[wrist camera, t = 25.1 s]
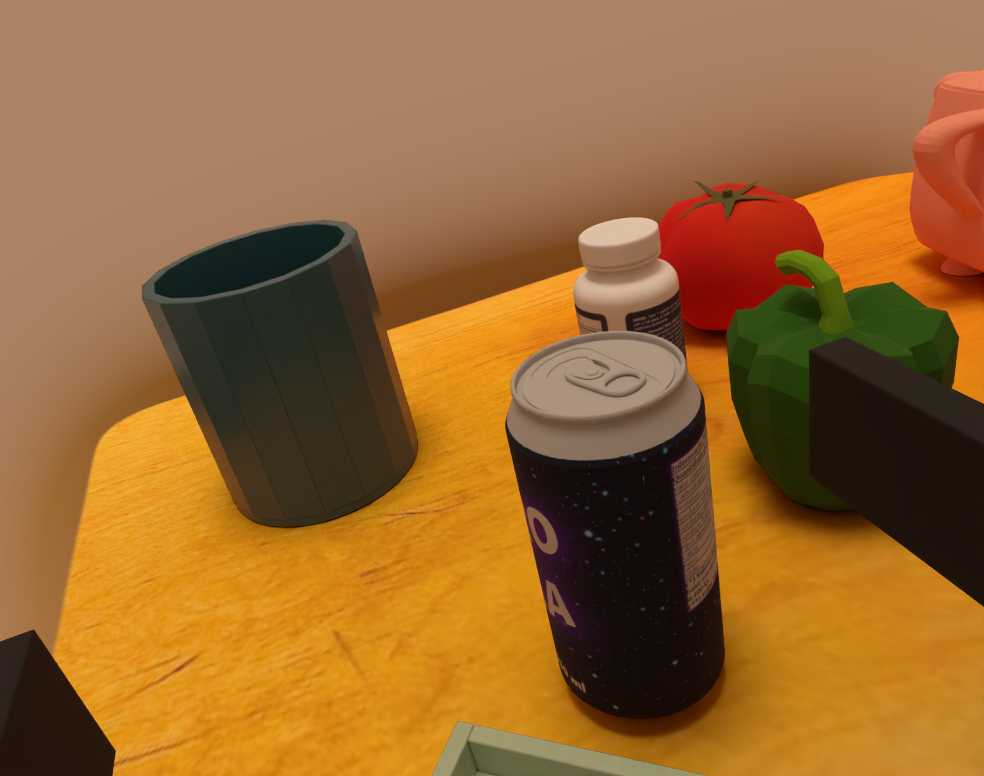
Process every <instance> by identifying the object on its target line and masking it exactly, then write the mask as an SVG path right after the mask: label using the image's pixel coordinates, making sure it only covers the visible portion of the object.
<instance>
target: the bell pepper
mask: <svg viewBox="0 0 984 776" xmlns="http://www.w3.org/2000/svg"><path fill="white" fill-rule="evenodd" d="M775 262H776V267H777V268H778V269H779V270H780V271H781V272H782V273H783V274H784V275H791V274H794V273H797V274H800V275H802V276H805V277H806V278H807V279H808V280H809V281H810V283H811V284H812V285H813V286H814V288H815V289H814V288H807V287H801V286H795V285H788V284H786V285H785V286H783V287H782V288H781V289H780V290H778V291H777V292H776V293H774V294H773V295H772V296H770V297H769V298H768V299H766V300H765V301H764V302H762V303H761V304H760V305H758V306H757V307H756V308H752V309H742V310H736V312H735V314H734V317H733V319H732V321H731V323H730V326H729V328H728V330H727V332H726V336H727V351H728V364H729V374H730V385H731V396H732V401H733V404H734V406H735V409H736V412H737V415H738V418H739V421H740V424H741V427H742V430H743V433H744V435H745V437H746V440H747V442H748V444H749V447H750V449H751V451H752V454H753V456H754V458H755V460H756V461H757V462H758V463H759V464H760V465H761V466H762V467H763V468H764V469H765V470H766V471H767V473H768V475H769V478H770V479H771V480H772V481H773V482H774V483H775V484H776V485H777V486H778V487H779V488H780V489H781V490H782V491H783V492H784V493H785V494H786V495H788V496H789V497H790V498H791V499H792V500H793V501H794V502H798V503H801V504H805V505H808V506H812V507H815V508H819V509H822V510H826V511H835V510H854V509H853V508H852V507H850V506H849V505H848V504H846V503H845V502H844V501H842V500H841V499H840V498H838V497H837V496H836V495H834V494H833V493H832V492H830V491H829V490H828V489H826V488H825V487H824V486H822V485H821V484H820V483H818V482H817V481H816V480H814V479H813V478H812V477H810V476H809V350H810V349H813V348H816V347H818V346H821V345H824V344H827V343H829V342H832V341H835V340H838V339H840V338H843V337H847V338H849V339H851V340H854V341H856V342H858V343H860V344H862V345H864V346H866V347H868V348H870V349H872V350H874V351H876V352H878V353H880V354H882V355H884V356H886V357H888V358H890V359H892V360H895V361H897V362H899V363H901V364H903V365H905V366H907V367H909V368H911V369H913V370H915V371H917V372H919V373H921V374H923V375H925V376H927V377H929V378H931V379H933V380H936V381H938V382H940V383H942V384H944V385H946V386H948V387H950V388H952V385H953V383H954V376H955V367H956V358H957V350H958V341H959V336H958V334H957V332H956V330H955V328H954V326H953V324H952V322H951V319H950V317H949V315H948V313H947V311H943V310H938V309H932V308H927V307H926V306H925V305H923V304H922V303H921V302H919V301H918V300H917V299H915V298H914V297H913V296H911V295H910V294H908V293H907V292H906V291H904V290H903V289H902V288H900V287H899V286H898V285H896V284H895V283H894V282H890V283H884V284H878V285H872V286H866V287H860V288H855V289H853V290H851V291H848V292H846V293H843V289H842V286H841V282H840V279H839V275H838V274H837V273H836V272H835V271H834V270H833V269H832V268H831V267H830V266H829V265H828V264H827V263H826V262H825V261H824V259H822V258H820V257H817V256H815V255H812V254H810V253H807V252H805V251H802V250H795V251H788V252H785V253H783V254H779V255H777V258H776V261H775Z"/></svg>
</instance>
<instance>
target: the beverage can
mask: <svg viewBox="0 0 984 776" xmlns="http://www.w3.org/2000/svg"><path fill="white" fill-rule="evenodd" d="M686 369H687V365H686V360H685V357H684V355H683V353H682V352H681V351H680V350H679V348H678V347H676V346H675V345H674V344H672V343H671V342H669V341H667V340H665V339H663V338H660V337H657V336H655V335H651V334H646V333H640V332H632V331H606V332H596V333H590V334H584V335H579V336H575V337H571V338H568V339H565V340H562V341H559V342H556V343H554V344H551V345H549V346H547V347H545V348H543V349H541V350H539V351H537V352H536V353H534V354H533V355H531V356H530V357H528V358H527V359H526V360H525V361H524V362H523V363H522V364H521V365H520V366H519V367H518V368H517V370H516V371H515V373H514V374H513V377H512V380H511V394H512V396H513V398H512V401H511V404H510V408H509V411H508V414H507V417H506V423H505V428H506V434H507V438H508V442H509V447H510V451H511V456H512V460H513V464H514V469H515V473H516V477H517V482H518V486H519V491H520V495H521V499H522V504H523V508H524V512H525V517H526V521H527V526H528V530H529V534H530V539H531V543H532V547H533V552H534V556H535V560H536V565H537V569H538V574H539V578H540V582H541V587H542V591H543V595H544V600H545V604H546V609H547V613H548V617H549V622H550V626H551V630H552V635H553V639H554V644H555V648H556V652H557V657H558V661H559V665H560V669H561V672H562V675H563V677H564V679H565V681H566V683H567V684H568V686H569V687H570V688H571V689H572V691H573V692H574V693H575V694H576V695H577V696H578V697H579V698H581V699H582V700H583V701H584V702H586V703H587V704H589V705H590V706H592V707H594V708H596V709H598V710H600V711H603V712H605V713H608V714H611V715H615V716H619V717H624V718H633V719H648V718H656V717H662V716H666V715H670V714H673V713H676V712H679V711H681V710H683V709H685V708H687V707H689V706H691V705H693V704H694V703H696V702H697V701H699V700H700V699H701V698H702V697H704V696H705V695H706V694H707V693H708V692H709V690H710V689H711V688H712V687H713V686H714V684H715V683H716V681H717V679H718V678H719V676H720V673H721V671H722V668H723V664H724V658H725V648H724V636H723V623H722V611H721V599H720V587H719V575H718V563H717V550H716V538H715V526H714V514H713V502H712V489H711V477H710V465H709V453H708V441H707V429H706V416H705V404H704V398H703V395H702V392H701V391H700V389H699V387H698V386H697V384H696V383H695V382H694V380H693V379H692V377H691V376H690V375H689V373H688V372H687V371H686Z"/></svg>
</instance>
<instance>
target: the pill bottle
mask: <svg viewBox="0 0 984 776" xmlns="http://www.w3.org/2000/svg"><path fill="white" fill-rule="evenodd" d="M579 248H580V254H581V259H582V264H583V266H584V267H585V268H587V270H586V271H584V272H583V273H582V274H581V275H580V276H579V277H578V279H577V281H576V282H575V285H574V291H573V293H574V301H575V308H576V313H577V319H578V325H579V331H580V335H584V334H590V333H596V332H606V331H632V332H640V333H646V334H651V335H655V336H657V337H660V338H663V339H665V340H667V341H669V342H671V343H672V344H674V345H675V346H676V347H678V348H679V350H680V351H681V352H682V353H683V355H684V357H685V360H686V365H687V359H686V350H685V340H684V330H683V319H682V310H681V299H680V289H679V282H678V276H677V273H676V271H675V269H674V268H673V267H672V266H671V265H670V264H669V263H668V262H666V261H664V260H662V259H659V258H657V257H658V256H659V255H660V253H661V242H660V235H659V228H658V224H657V223H656V222H655V221H653V220H650V219H646V218H623V219H616V220H611V221H607V222H604V223H600V224H597V225H595V226H593V227H590V228H589V229H587V230H585V231H584V232H582V233H581V235H580V236H579ZM686 371H687V372H688V368H687V369H686Z"/></svg>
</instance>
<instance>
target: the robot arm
mask: <svg viewBox="0 0 984 776" xmlns="http://www.w3.org/2000/svg"><path fill="white" fill-rule="evenodd" d="M809 476H810V477H812V478H813V479H814V480H816V481H817V482H818V483H820V484H821V485H822V486H824V487H825V488H826V489H828V490H829V491H830V492H832V493H833V494H834V495H836V496H837V497H838V498H840V499H841V500H842V501H844V502H845V503H846V504H848V505H849V506H850V507H852V508H853V509H854V510H856V511H857V512H858V513H860V514H861V515H862V516H864V517H865V518H866V519H868V520H869V521H870V522H872V523H873V524H874V525H876V526H877V527H878V528H880V529H881V530H882V531H884V532H885V533H886V534H888V535H889V536H890V537H892V538H893V539H894V540H896V541H897V542H898V543H900V544H901V545H902V546H904V547H905V548H906V549H908V550H909V551H910V552H912V553H913V554H914V555H916V556H917V557H918V558H920V559H921V560H922V561H924V562H925V563H926V564H928V565H929V566H930V567H932V568H933V569H934V570H936V571H937V572H938V573H940V574H941V575H942V576H944V577H945V578H946V579H948V580H949V581H950V582H952V583H953V584H954V585H956V586H957V587H958V588H960V589H961V590H962V591H964V592H965V593H966V594H968V595H969V596H970V597H972V598H973V599H974V600H976V601H977V602H978V603H980V604H981V605H982V606H984V404H983V403H981V402H979V401H977V400H974V399H972V398H970V397H968V396H966V395H964V394H962V393H960V392H958V391H956V390H954V389H952V388H950V387H948V386H946V385H944V384H942V383H940V382H938V381H936V380H933V379H931V378H929V377H927V376H925V375H923V374H921V373H919V372H917V371H915V370H913V369H911V368H909V367H907V366H905V365H903V364H901V363H899V362H897V361H895V360H892V359H890V358H888V357H886V356H884V355H882V354H880V353H878V352H876V351H874V350H872V349H870V348H868V347H866V346H864V345H862V344H860V343H858V342H856V341H854V340H851V339H849V338H847V337H843V338H840V339H838V340H835V341H832V342H829V343H827V344H824V345H821V346H818V347H816V348H813V349H810V350H809ZM115 752H116V751H115V749H114V748H113V746H112V745H111V743H110V742H109V740H108V739H107V737H106V736H105V734H104V733H103V731H102V730H101V728H100V727H99V726H98V724H97V723H96V721H95V720H94V718H93V717H92V715H91V714H90V712H89V711H88V709H87V708H86V706H85V705H84V703H83V702H82V700H81V699H80V697H79V696H78V694H77V693H76V691H75V690H74V688H73V687H72V685H71V684H70V682H69V681H68V679H67V678H66V676H65V675H64V673H63V672H62V670H61V669H60V667H59V666H58V665H57V663H56V662H55V660H54V659H53V657H52V656H51V654H50V653H49V651H48V650H47V648H46V647H45V645H44V644H43V642H42V641H41V639H40V638H39V636H38V635H37V633H36V632H35V630H31V631H28V632H26V633H23V634H20V635H17V636H14V637H12V638H9V639H6V640H3V641H1V642H0V776H112V774H113V767H114V760H115Z"/></svg>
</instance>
